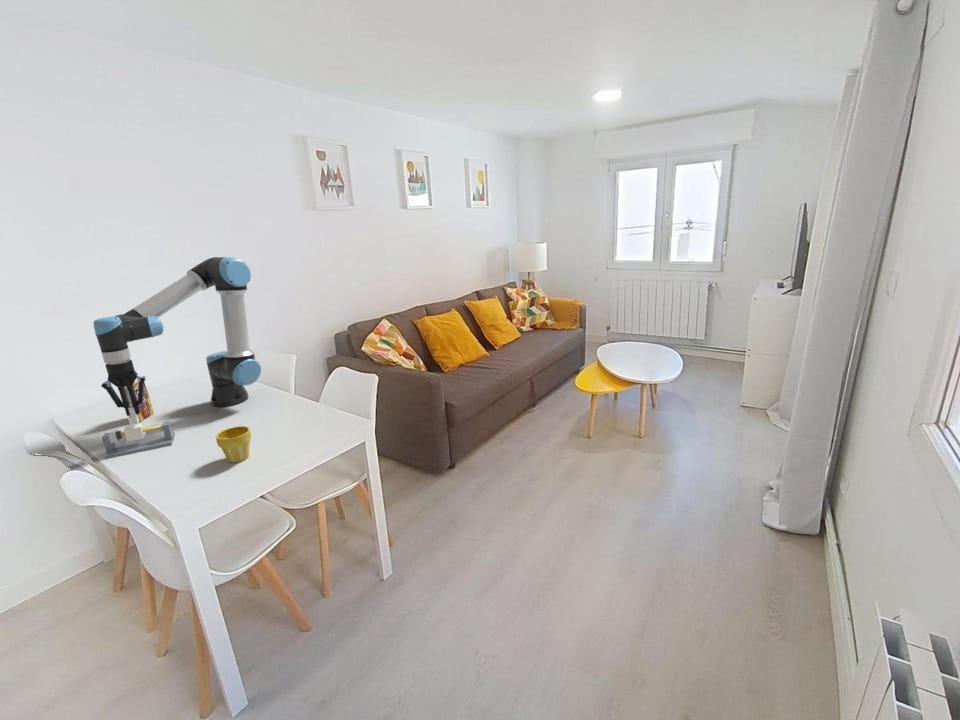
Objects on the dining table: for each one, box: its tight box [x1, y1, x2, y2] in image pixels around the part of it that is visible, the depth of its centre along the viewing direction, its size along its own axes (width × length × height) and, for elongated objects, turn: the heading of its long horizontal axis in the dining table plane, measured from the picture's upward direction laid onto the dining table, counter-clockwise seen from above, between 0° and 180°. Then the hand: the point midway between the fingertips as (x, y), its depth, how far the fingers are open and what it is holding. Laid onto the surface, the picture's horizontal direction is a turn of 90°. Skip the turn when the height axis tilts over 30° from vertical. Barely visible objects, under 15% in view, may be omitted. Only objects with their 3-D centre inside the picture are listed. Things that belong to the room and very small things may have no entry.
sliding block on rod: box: [101, 420, 176, 459], centre depth 168 cm, size 20×10×8 cm, turn 117°
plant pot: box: [215, 425, 252, 463], centre depth 156 cm, size 10×10×10 cm
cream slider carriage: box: [123, 416, 147, 442], centre depth 166 cm, size 5×4×8 cm
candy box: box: [125, 380, 155, 423], centre depth 193 cm, size 9×4×15 cm, turn 2°
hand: (136, 422), depth 167 cm, fingers closed
